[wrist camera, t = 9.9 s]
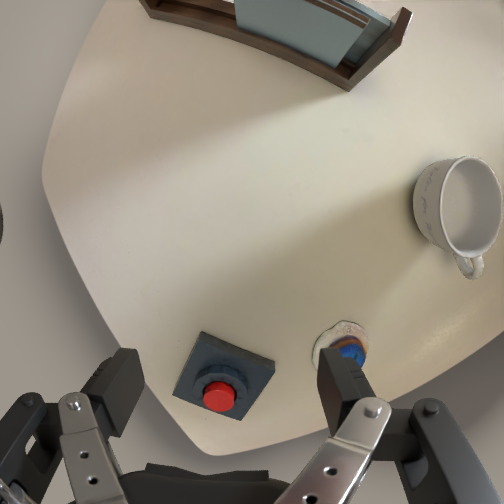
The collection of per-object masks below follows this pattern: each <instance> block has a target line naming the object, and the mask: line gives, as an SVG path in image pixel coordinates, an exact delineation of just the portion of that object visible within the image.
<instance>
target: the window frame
mask: <svg viewBox="0 0 504 504" xmlns="http://www.w3.org/2000/svg"><path fill="white" fill-rule="evenodd" d="M335 1H337V2H339V3H341V4H343V5H345V6H347V7H349V8H351V9H353V10H355V11H357V12H359V13H361V14H363V15H364V16H366V17H368V18H370V22H369V24H368V25H367V27H366V28H365V29H364V30H363V32H362V33H361V34H360V36H359V37H358V38H357V40H356V41H355V42H354V44H353V45H352V46H351V48H350V49H349V50H348V52H347V53H346V54H345V56H344V57H343V58H342V60H341V61H340V62H339V64H338V65H337V66H336V68H335V69H332V68H330V67H328V66H326V65H324V64H322V63H320V62H318V61H316V60H314V59H312V58H310V57H308V56H306V55H304V54H301V53H299V52H297V51H295V50H293V49H290V48H288V47H286V46H283V45H281V44H278V43H276V42H274V41H271V40H269V39H266V38H263V37H261V36H258V35H255V34H253V33H250V32H247V31H244V30H241V29H238V28H237V21H236V13H235V4H234V3H230V2H227V1H223V0H139V2H140V3H141V4H142V6H143V7H144V9H145V10H146V12H147V13H148V15H149V16H150V18H154V19H159V20H164V21H168V22H173V23H177V24H181V25H185V26H189V27H193V28H197V29H200V30H204V31H207V32H211V33H214V34H217V35H220V36H223V37H226V38H229V39H232V40H235V41H238V42H241V43H244V44H247V45H249V46H252V47H255V48H257V49H260V50H262V51H265V52H267V53H270V54H272V55H275V56H277V57H279V58H282V59H284V60H286V61H289V62H291V63H293V64H295V65H297V66H300V67H302V68H304V69H306V70H308V71H310V72H312V73H314V74H316V75H318V76H320V77H322V78H324V79H326V80H328V81H330V82H332V83H333V84H335V85H337V86H339V87H341V88H343V89H344V90H346V91H348V92H349V91H350V90H351V89H352V88H354V87H355V86H356V85H357V84H358V83H359V82H360V81H361V80H362V79H363V78H364V77H366V76H367V75H368V74H369V73H370V72H371V71H372V70H373V69H374V68H376V67H377V66H378V65H379V64H380V63H381V62H382V61H383V60H385V59H386V58H387V57H388V56H389V55H390V54H391V53H393V52H394V51H395V50H396V49H397V48H398V47H399V46H401V43H402V41H403V38H404V36H405V33H406V31H407V28H408V25H409V23H410V20H411V17H412V15H413V13H412V12H411V11H409V10H408V9H406V8H404V7H402V8H401V9H400V10H399V11H398V12H397V13H396V14H395V15H394V17H393V18H392V19H391V20H389V19H387V18H385V17H384V16H382V15H380V14H379V13H377V12H375V11H373V10H372V9H370V8H368V7H366V6H364V5H362V4H361V3H359V2H357V1H355V0H335Z"/></svg>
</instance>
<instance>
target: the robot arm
mask: <svg viewBox="0 0 504 504" xmlns="http://www.w3.org/2000/svg"><path fill="white" fill-rule="evenodd" d="M144 383H145V380H144V374H143V371H142V367H141V363H140V359H139V355H138V352H137V350H136V349H130V348H120V349H118V351H117V352H116V353H115V355H114V356H113V357H110V358H108V359H106V360H105V361H103V362H102V363H101V364H100V365H99V367H98V368H97V371H95V372H94V373H93V376H91V377H90V379H89V380H88V381H87V383H86V384H85V385H84V387H83V388H82V389H81V391H80V392H73V393H69V394H66V395H65V396H63V397H62V398H61V399H60V400H59V402H58V403H45V402H44V400H43V398H42V396H41V395H40V394H38V393H35V392H30V393H26V394H23V395H22V396H20V397H19V398H18V399H17V400H16V401H15V403H14V404H13V405H12V406H11V408H10V409H9V410H8V412H7V413H6V414H5V415H4V417H3V418H2V419H1V420H0V504H41V501H42V499H43V497H44V495H45V493H46V490H47V488H48V486H49V484H50V482H51V480H52V477H53V476H54V473H55V471H56V470H57V467H58V466H59V464H60V461H61V460H62V458H64V461H65V466H66V470H67V473H68V477H69V481H70V484H71V488H72V491H73V494H74V497H75V500H74V501H73V502H70V503H68V504H349V503H350V501H351V499H352V498H353V496H354V494H355V492H356V490H357V489H358V487H359V485H360V484H361V482H362V480H363V478H364V477H365V475H366V473H367V471H368V469H369V467H370V465H371V463H372V461H373V460H375V461H395V464H396V467H397V470H398V472H399V476H400V479H401V482H402V484H403V487H404V490H405V493H406V496H407V500H408V502H409V504H503V503H502V501H501V499H500V497H499V495H498V493H497V491H496V489H495V488H494V486H493V484H492V482H491V480H490V478H489V476H488V474H487V473H486V471H485V469H484V467H483V466H482V464H481V462H480V460H479V459H478V457H477V455H476V454H475V452H474V450H473V449H472V447H471V445H470V444H469V442H468V440H467V439H466V437H465V435H464V434H463V432H462V431H461V429H460V427H459V426H458V424H457V423H456V421H455V419H454V418H453V416H452V415H451V413H450V412H449V410H448V408H447V407H446V406H445V404H444V403H443V402H441V401H439V400H437V399H433V398H425V399H421V400H419V401H418V402H416V403H415V405H414V406H413V409H393V408H391V406H390V405H389V403H388V402H387V401H385V400H383V399H381V398H377V397H376V395H375V393H374V391H373V390H372V388H371V386H370V384H369V382H368V380H367V378H366V377H365V375H364V373H363V371H362V369H361V367H360V365H359V364H358V362H356V361H355V360H354V359H352V358H351V357H343V356H342V354H341V352H340V350H339V348H338V347H330V348H321V349H320V352H319V363H318V373H317V387H318V392H319V395H320V399H321V402H322V405H323V409H324V412H325V416H326V419H327V423H328V426H329V430H330V433H331V437H328V438H327V439H326V440H325V442H324V443H323V444H322V446H321V447H320V448H319V450H318V451H317V452H316V454H315V455H314V456H313V458H312V459H311V460H310V462H309V463H308V464H307V465H306V466H305V468H304V469H303V470H302V471H301V473H300V474H299V475H298V476H297V478H296V479H295V480H294V481H293V482H292V483H291V484H289V483H287V482H284V481H281V480H276V479H271V478H269V475H268V470H263V471H262V470H261V471H233V472H227V473H220V474H214V475H200V474H197V473H193V472H190V471H187V470H183V469H180V468H177V467H172V466H165V465H158V464H151V463H147V465H146V468H145V470H142V471H135V472H130V473H127V474H123V473H122V470H121V468H120V466H119V464H118V462H117V460H116V457H115V455H114V453H113V450H112V448H111V445H110V443H109V441H108V439H109V437H110V436H114V437H119V438H120V437H121V435H122V433H123V430H124V428H125V426H126V424H127V422H128V420H129V418H130V416H131V414H132V412H133V409H134V407H135V405H136V403H137V401H138V399H139V397H140V395H141V393H142V391H143V389H144ZM32 435H33V436H34V438H35V439H36V441H35V443H34V445H33V446H32V448H31V450H30V451H29V453H28V454H26V452H25V446H26V444H27V442H28V440H29V439H30V437H31V436H32Z"/></svg>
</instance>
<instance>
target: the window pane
mask: <svg viewBox="0 0 504 504" xmlns="http://www.w3.org/2000/svg"><path fill="white" fill-rule="evenodd" d="M234 4H235V13H236V21H237V28H238V29H241V30H244V31H247V32H250V33H253V34H255V35H258V36H261V37H263V38H266V39H269V40H271V41H274V42H276V43H278V44H281V45H283V46H286V47H288V48H290V49H293V50H295V51H297V52H299V53H301V54H304V55H306V56H308V57H310V58H312V59H314V60H316V61H318V62H320V63H322V64H324V65H326V66H328V67H330V68H332V69H335V68H336V66H337V65H338V64H339V62H340V61H341V60H342V58H343V57H344V56H345V54H346V53H347V52H348V50H349V49H350V48H351V46H352V45H353V44H354V42H355V41H356V40H357V38H358V37H359V36H360V34H361V33H362V32H363V30H364V29H365V28H366V27H367V25H368V24H369V22H370V18H368V17H366V16H364V15H363V14H361V13H359V12H357V11H355V10H353V9H351V8H349V7H347V6H345V5H343V4H341V3H339V2H337V1H335V0H234Z"/></svg>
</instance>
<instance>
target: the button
mask: <svg viewBox="0 0 504 504" xmlns="http://www.w3.org/2000/svg"><path fill="white" fill-rule="evenodd" d="M234 398H235V391H234V389H233V388H232V386H231V385H229V384H227V383H225V382H220V381H217V382H212V383H210V384H209V385H208V386H207V387H206V389H205V393H204V398H203V401H204V403H205V405H206V406H207V407H208V408H209V409H211V410H213V411H218V412H223V411H227V410H229V409H231V408H232V407H233V405H234Z"/></svg>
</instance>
